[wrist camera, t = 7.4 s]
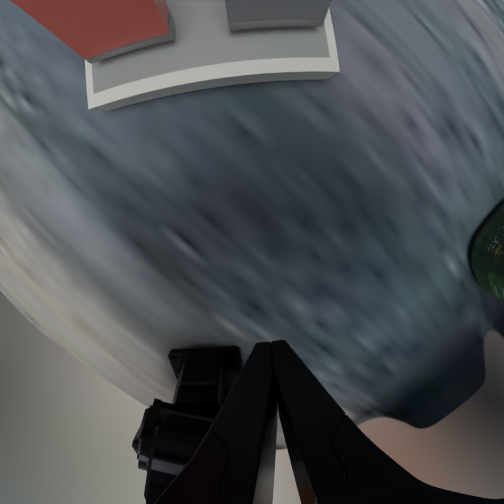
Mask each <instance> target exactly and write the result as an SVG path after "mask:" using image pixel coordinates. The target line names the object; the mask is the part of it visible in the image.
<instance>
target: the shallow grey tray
mask: <svg viewBox="0 0 504 504" xmlns="http://www.w3.org/2000/svg"><path fill="white" fill-rule="evenodd" d="M165 1H166V3H167V5H168V8H169V10H170V13H171V14H172V17H173V21H174V26H175V39H174V40H170V41H166V42H162V43H158V44H154V45H150V46H146V47H142V48H139V49H135V50H132V51H129V52H125V53H122V54H119V55H116V56H113V57H110V58H107V59H104V60H101V61H99V62H96V63H93V64H90V63H88V62H87V60H85V68H86V84H87V97H88V107H89V109H90V110H103V111H110V110H114V109H117V108H121V107H124V106H128V105H132V104H135V103H139V102H143V101H147V100H152V99H156V98H160V97H165V96H170V95H174V94H179V93H185V92H190V91H196V90H202V89H208V88H215V87H222V86H229V85H237V84H247V83H257V82H270V81H287V80H326V79H328V78H330V77H332V76H333V75H335V74H337V73H339V72H340V70H339V63H338V56H337V49H336V43H335V37H334V31H333V26H332V20H331V15H330V10H329V8H328V12H327V15H326V18H325V20H324V24H323V26H322V27H313V26H284V27H261V28H248V29H238V30H229V27H228V19H227V12H226V5H225V0H165Z"/></svg>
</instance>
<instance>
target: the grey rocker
mask: <svg viewBox="0 0 504 504" xmlns="http://www.w3.org/2000/svg"><path fill="white" fill-rule="evenodd" d="M330 2H331V0H225V5H226V12H227V19H228V27H229V30H238V29H248V28H261V27H284V26H313V27H322V26H323V24H324V20H325V18H326V15H327V12H328V8H329V5H330Z"/></svg>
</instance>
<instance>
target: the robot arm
mask: <svg viewBox="0 0 504 504" xmlns="http://www.w3.org/2000/svg"><path fill="white" fill-rule="evenodd" d="M233 352H236V353H233ZM173 355H175V356H173ZM168 357H169V360H170V363H171V365H172V368H173V370H174V373H175V375H176V378H177V384H176V389H175V393H174V398H173V403H172V404H171V403H167V402H163V401H161V400H159V399H154V402H153V405H150V407H149V408H148V409H145V413H144V416H143V420H142V423H141V426H140V428H139V430H138V432H137V434H136V436H135V438H134V440H133V443H132V447H133V448H134V450H135V451H136V453H137V459H138V460H139V462H138V463H139V464H138V468H139V469H143V470H146V471H147V477H146V484H145V492H144V497H145V499H146V504H272V500H273V486H274V471H275V454H276V436H277V406H278V412H279V417H280V421H281V425H282V429H283V433H284V437H285V441H286V445H287V449H288V453H289V457H290V461H291V465H292V469H293V473H294V477H295V481H296V485H297V489H298V493H299V496H300V500H301V504H504V498H503V499H488V498H482V497H477V496H471V495H466V494H462V493H457V492H453V491H449V490H445V489H441V488H437V487H433V486H431V485H428V484H426V483H424V482H422V481H420V480H418V479H417V478H415V477H414V476H413V475H411V474H410V473H409V472H407V471H406V470H405V469H404V468H402V467H401V466H400V465H399V464H397V463H396V462H395V461H394V460H393V459H392V458H390V457H389V456H388V455H387V454H385V453H384V452H383V451H382V450H381V449H379V448H378V447H377V446H376V445H375V444H374V443H373V442H372V441H371V440H370V439H369V438H368V437H366V435H365V434H364V433H363V432H362V431H361V430H360V429H359V428H358V427H357V426H356V425H355V424H354V422H353V421H352V420H351V419H350V418H349V417H348V415H345V414H346V413H345V412H344V411H343V410H342V408H341V407H340V406H339V405H338V404H337V403H336V401H335V400H334V399H333V398H332V397H331V395H330V394H329V393H328V392H327V391H326V389H325V388H324V387H323V386H322V385H321V383H320V382H319V381H318V380H317V379H316V377H315V376H314V375H313V374H312V372H311V371H310V370H309V369H308V368H307V366H306V365H305V364H304V363H303V361H302V360H301V359H300V358H299V357H298V355H297V354H296V353H295V352H294V350H293V349H292V348H291V347H290V345H289V344H288V343H287V342H286V341H285V340H277V341H272V342H271V343H270V342H259V343H256V344H255V346H254V348H253V350H252V352H251V354H250V356H249V357H248V359H247V361H246V363H245V365H244V366H243V361H242V356H241V350H240V348H238V347H235V346H233V347H220V348H206V349H187V350H171V351H170V352H169V355H168ZM276 397H277V398H276Z"/></svg>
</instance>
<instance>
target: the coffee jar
mask: <svg viewBox="0 0 504 504" xmlns="http://www.w3.org/2000/svg"><path fill="white" fill-rule="evenodd" d="M471 264H472V269H473V272H474V275H475V277H476V279H477V281H478V283H479V284H480V286H481V287H483V288H484V289H485V290H486V291H488V292H489V293H490V294H492V295H493V296H495V297H496V298H497V299H499V300H500V301H502V302H503V303H504V203H503V204H502V205H500V206H499V208H498V209H497V210H496V211H495V212H494V213H493V214H492V215H491V217H490V218H489V219H488V220H487V222H486V223H485V224H484V225H483V227H482V228H481V230H480V231H479V232H478V234H477V235H476V237H475V239H474V241H473V245H472V251H471Z"/></svg>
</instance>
